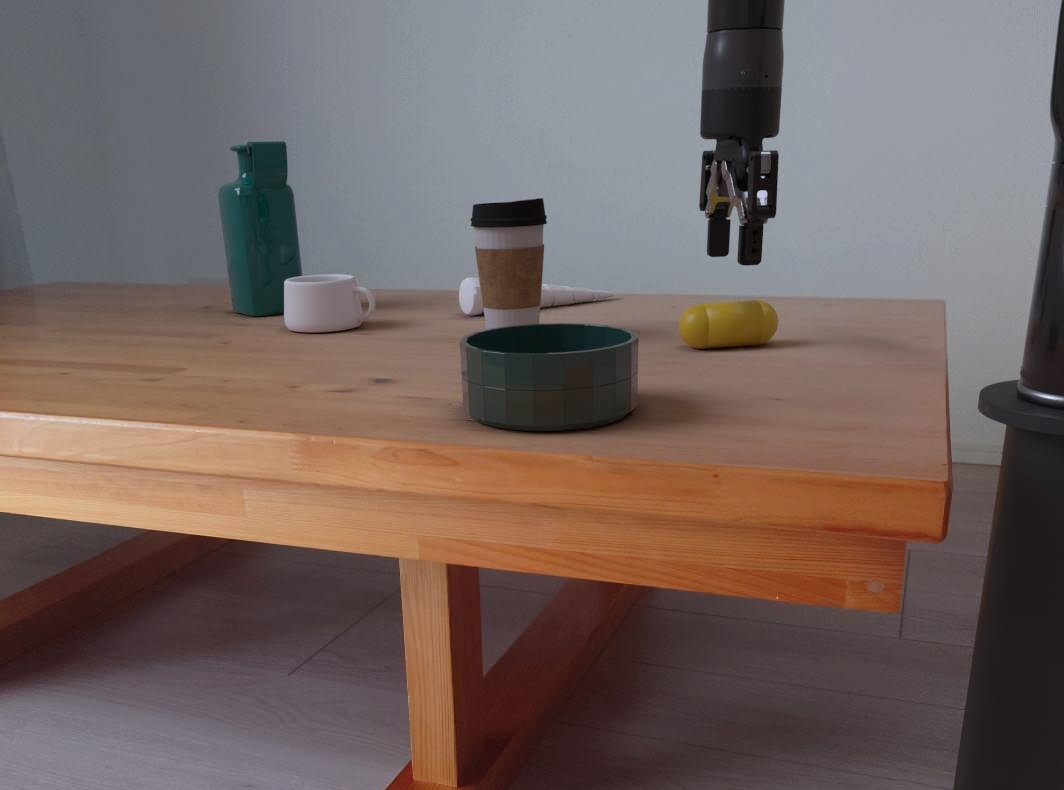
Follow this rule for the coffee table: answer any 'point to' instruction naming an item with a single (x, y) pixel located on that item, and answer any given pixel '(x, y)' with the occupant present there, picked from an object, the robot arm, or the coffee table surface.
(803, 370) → the coffee table surface
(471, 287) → the unicorn horn
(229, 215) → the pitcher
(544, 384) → the teal round dish
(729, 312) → the capsule
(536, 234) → the coffee cup
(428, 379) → the coffee table surface
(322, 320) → the mug
